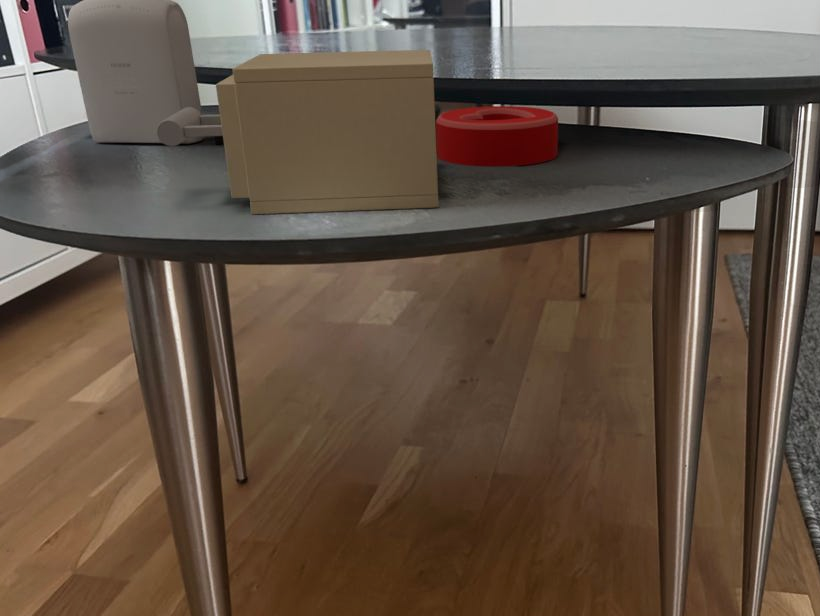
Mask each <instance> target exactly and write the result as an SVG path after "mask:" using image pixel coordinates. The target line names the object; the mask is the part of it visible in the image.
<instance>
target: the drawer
mask: <svg viewBox="0 0 820 616" xmlns="http://www.w3.org/2000/svg"><path fill="white" fill-rule="evenodd" d="M234 84H235V82H234V78H233V74H231V75H229V76H228V77H226V78H225V79H223V80H221V81H219V82H218V83H215V89H216V97H217V98H216V99H217V104H218V111H219V114H217V113H216V114H202V115H201V114H200V112H199V111H198V110H196V109H195V108H192V107H186V108H184V109H182V110H180V111H179V112H177V113H175V114H174V115H172V116H170V117H169V118H167V119H165V120H164V121H162V122H160V123H159V125H158V127H157V136H158V138H159V140H160V141H161V142H162V143H161V144H163V145H165V146H167V147H176V146H179V145H181V144H180V143H181V142H182V141H184V140H185V139H186V138H188V137H204V138H205V137H215V136H223V140H224V145H223V146H224V154H225V160H226V167H227V175H228V181H229V188H230V189H229V190H230V196H231V199H250V198H249V191H248V183H247V176H246V168H245V161H244V153H243V146H242V138H241V131H240V123H239V116H238V108H237V101H236V93H235V86H234Z"/></svg>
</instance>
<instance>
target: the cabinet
mask: <svg viewBox="0 0 820 616" xmlns="http://www.w3.org/2000/svg"><path fill="white" fill-rule="evenodd" d="M432 58H433V57H432V54H431V50H430V49H412V50H411V49H405V50H403V49H402V50H365V51H329V52H328V51H326V52H323V51H322V52H292V53H289V52H288V53H287V52H285V53H284V52H283V53H260V54H258V55H256V56H254V57H252V58H250V59H248V60H246V61H244V62H242V63H240V64H239V65H237V66H235V67H233V68H232V75H233V78H234V82H235V84H234V86H235V93H236V101H237V108H238V116H239V123H240V131H241V138H242V146H243V153H244V161H245V168H246V176H247V183H248V191H249V198H248V199H249V201H250V202H249V205H250V213H251V215H269V214H291V213H292V214H296V213H297V214H298V213H323V212H324V213H325V212H350V211H351V212H353V211H355V212H356V211H377V210H379V211H381V210H404V209H405V210H407V209H433V208H434V209H435V208H439V205H440V204H439V184H438V183H439V182H438V181H439V179H438V161H437V160H438V159H437V158H438V155H437V130H436V105H435V103H436V102H435V82H434V81H435V79H434V63H433V62H434V61H433V59H432Z"/></svg>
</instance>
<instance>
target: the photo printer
mask: <svg viewBox="0 0 820 616" xmlns="http://www.w3.org/2000/svg"><path fill="white" fill-rule="evenodd" d="M67 26H68V27H67V28H68V29H67V30H68V34H69V39H70V44H71V48H72V54H73V58H74V63H75V67H76V72H77V75H78V76H77V77H78V81H79V87H80V90H81V95H82V100H83V105H84V109H85V114H86V118H87V124H88V127H89V130H90V131H89V132H90V135H91V138H92V141H94V142H95V143H96V144H163V143H162V142H161V141H160V140H159V138H158V136H157V127H158V125H159V123H160V122H162V121H164V120H165V119H167V118H169V117H170V116H172V115H174V114H175V113H177V112H179V111H180V110H182V109H184V108H186V107H192V108H195V109H196V110H198V111H199V112H200V114H201V115H203V109H202V104H201V97H200V91H199V85H198V80H197V73H196V67H195V60H194V55H193V49H192V42H191V35H190V29H189V24H188V20H187V17H186V14H185V12H184V10H183V8H182V7H181V5H180V4H179V3H178V2H176V1H174V0H81V1H79V2H77V3H76V4H74V5H72V6H71V8H70V9H69V12H68V16H67ZM204 139H205V136H204V137H188V138H186V139H185V140H184V141H182V142H181V143H180V144H179V145H181V144H182V145H190V144H194V143H198V142H201V141H203V140H204Z"/></svg>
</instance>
